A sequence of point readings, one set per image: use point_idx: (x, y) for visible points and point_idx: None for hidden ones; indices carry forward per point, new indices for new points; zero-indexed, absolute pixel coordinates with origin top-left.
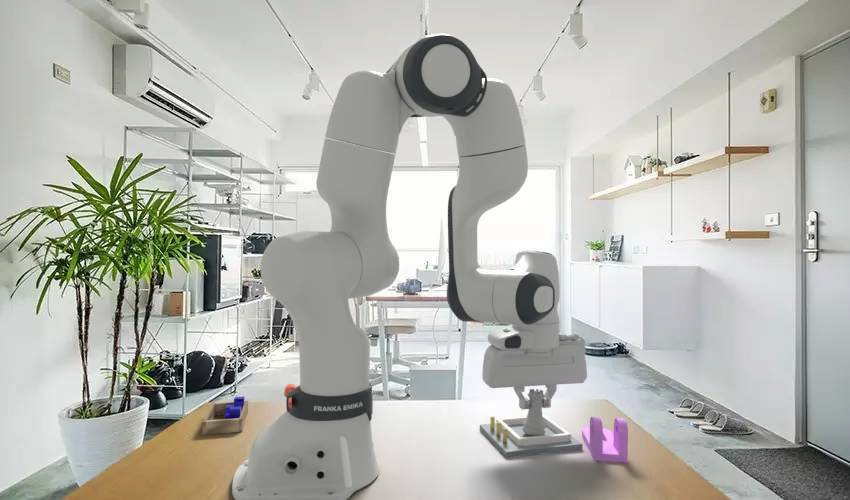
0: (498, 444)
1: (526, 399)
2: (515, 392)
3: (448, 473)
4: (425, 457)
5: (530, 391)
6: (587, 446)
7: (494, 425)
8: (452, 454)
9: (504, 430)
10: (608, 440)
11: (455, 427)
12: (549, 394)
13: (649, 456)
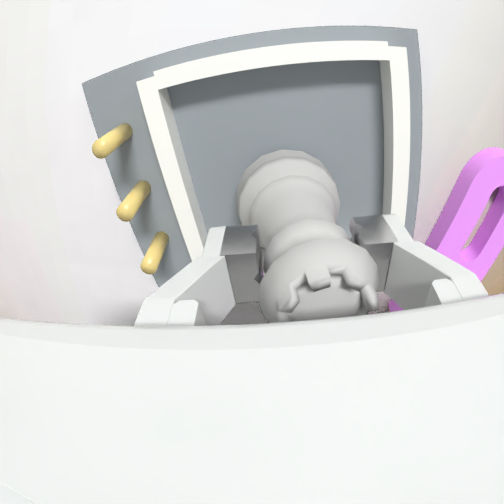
0: (141, 249)
1: (245, 286)
2: (165, 284)
3: (63, 318)
4: (9, 262)
5: (277, 319)
6: (426, 245)
7: (124, 140)
8: (45, 255)
9: (147, 271)
10: (478, 259)
11: (23, 74)
12: (407, 303)
13: (497, 290)
